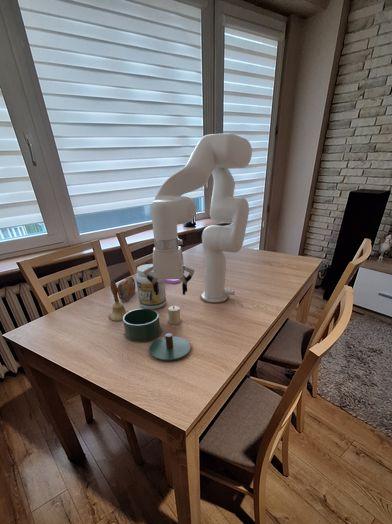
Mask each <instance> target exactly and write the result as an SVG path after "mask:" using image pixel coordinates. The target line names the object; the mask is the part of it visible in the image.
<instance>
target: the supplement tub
mask: <svg viewBox="0 0 392 524" xmlns="http://www.w3.org/2000/svg"><path fill="white" fill-rule="evenodd" d="M151 266H153V263H147V264H142V265H139V266H137V268H136V276H135V283H136V289H137V294H138V295H137V296H138V302H139V305H140V307H142V308H146V309H153V310H157V309H160V308H162V307H164V306H165V305H166V304H167V296H166V295H167V294H166V284H165V283H166V282H165V281H164V279H158V280H157V282H158V286H159V293H158V295H156V293H155V292H154V289H153V284H152V283H151V282H150V281H149V280H148V279H147V277H146V276H145V274H144V273H143V272H144V270H145V269H147V268H149V267H151ZM149 274H150V275H151V276H152V277H153V278H154V273H153V271H151V272H149Z"/></svg>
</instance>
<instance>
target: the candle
mask: <svg viewBox="0 0 392 524" xmlns="http://www.w3.org/2000/svg"><path fill="white" fill-rule="evenodd" d="M180 310H181V309H180V307H179V306H178V305H170V306H168V307H167V314H168V323H169V324H171V325H178V324H180V323H181V311H180Z"/></svg>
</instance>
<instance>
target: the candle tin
mask: <svg viewBox="0 0 392 524" xmlns="http://www.w3.org/2000/svg"><path fill="white" fill-rule="evenodd" d="M122 324H123V328H124V334H125V337H126V338H127V339H128V340H129V341H132V342H135V343H146V342H150V341H153V340H156V339H157V338H158V337H159V336H160V335H161V332H162V331H161V322H160V314H159V312H158V311H157V310H156V309H146V308H143V307H142V308H135V309H132V310H130V311H128V313H126V314H125V315H124V316H123V320H122Z"/></svg>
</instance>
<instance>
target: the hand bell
mask: <svg viewBox="0 0 392 524" xmlns="http://www.w3.org/2000/svg"><path fill="white" fill-rule="evenodd" d="M109 283H110V284H109V287H110V291H111V294H112V295H113V299H114V300H113V301H114V303H113V304H112V311H111V314H110V315H109V319H110V320H112V321H115V322H121V321H123V316H124V315H125V314H126V313H128V312H129V311H127V309H126V308H125V305H124V303H123V302H120V298H119V296H118V290H117V288H118V285H117V284H116V282H115V280H114V279H110V282H109Z"/></svg>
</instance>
